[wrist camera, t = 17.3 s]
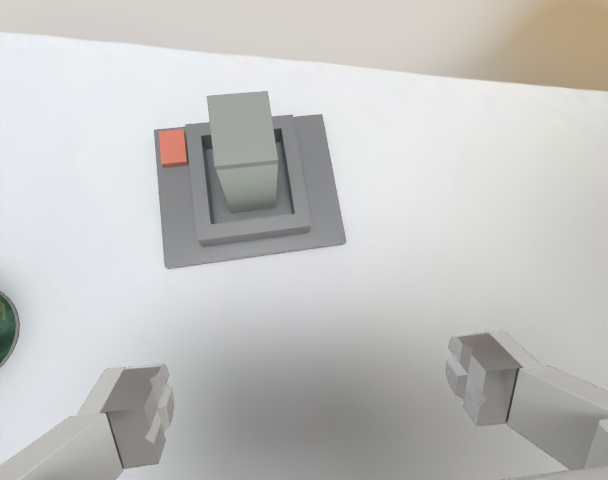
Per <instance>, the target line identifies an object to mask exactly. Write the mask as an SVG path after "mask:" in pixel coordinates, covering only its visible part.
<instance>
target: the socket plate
mask: <svg viewBox="0 0 608 480" xmlns="http://www.w3.org/2000/svg"><path fill="white" fill-rule="evenodd" d="M272 123H273V130H274V136H275V143H276V149H277V156H278V172H277V191H276V208H273V209H265V210H257V211H248V212H240V213H232V214H231V211H230V208H229V205H228V203H227V200H226V197H225V194H224V191H223V188H222V186H221V183H220V180H219V177H218V174H217V172H216V169H215V165H214V156H213V147H212V138H211V129H210V122H208V123H197V124H186V127H179V128H168V129H157V130H154V136H155V149H156V162H157V174H158V187H159V199H160V212H161V225H162V237H163V250H164V263H165V267H166V268H168V269H170V268H177V267H184V266H191V265H198V264H206V263H213V262H220V261H227V260H234V259H241V258H248V257H255V256H263V255H270V254H277V253H284V252H291V251H298V250H305V249H312V248H320V247H327V246H334V245H341V244H345V243H346V238H345V232H344V227H343V222H342V217H341V211H340V206H339V201H338V196H337V190H336V185H335V180H334V174H333V169H332V164H331V159H330V153H329V148H328V143H327V138H326V132H325V127H324V122H323V116H322V114H320V115H309V116H298V117H293V115H285V116H274V117H272Z"/></svg>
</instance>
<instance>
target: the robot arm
mask: <svg viewBox="0 0 608 480" xmlns="http://www.w3.org/2000/svg"><path fill="white" fill-rule="evenodd" d="M448 348H449V350H450V351H451V352H452V355H451V356H450V357H449V359H448V360H447V363H446V374H447V379H448V382H449V384H450V387H451V388H452V390H453V392H454V393H455V394H456V395H457V396H459V397H461V398H462V399H464V405H463V407H464V408H465V410H466V411H467V413H468V414H469V416H470V417H471V419H472V420H473V422H474V423H475V425H476V426H483V425H494V424H506V423H507V425H508V426H509V427H511V428H512V429H513V430H515V431H516V432H518V433H519V434H520V435H522V436H523V437H525V438H526V439H527V440H529V441H530V442H532V443H533V444H535V445H536V446H537V447H539V448H540V449H542V450H543V451H544V452H546V453H547V454H549V455H550V456H551V457H553V458H554V459H556V460H557V461H558V462H560V463H561V464H563V465H564V466H566V467H567V468H568V469H570V471H562V472H555V473H547V474H539V475H532V476H524V477H517V478H509V479H502V480H608V391H607V390H604V389H602V388H600V387H597V386H595V385H593V384H590V383H588V382H585V381H583V380H581V379H578V378H576V377H574V376H571V375H569V374H566V373H564V372H562V371H559V370H557V369H555V368H552V367H550V366H542V365H541V364H540V363H539V362H538V361H537V360H536V359H534V358H533V357H532V356H531V355H530V354H529V353H528V352H527V351H526V350H525V349H524V348H523V347H521V346H520V345H519V344H518V343H517V342H516V341H515V340H514V339H513V338H512V337H511V336H510V335H508V334H507V333H506V332H504V331H493V332H485V333H480V334H471V335H461V336H452V337H451V339H450V341H449V347H448ZM168 378H169V373H168V369H167V366H166V365H165V364H156V365H143V366H129V367H119V368H108V369H107V370H105V371H104V372H103V373H102V375H101V376H100V378H99V380H98V381H97V383H96V384H95V386H94V388H93V389H92V391H91V393H90V394H89V396H88V397H87V399H86V401H85V402H84V404H83V405H82V407H81V409H80V410H79V412H78V414H77V415H76V416H70V417H68V418H67V419H66V420H64V421H63V422H61V423H60V424H58V425H57V426H56V427H54V428H53V429H51V430H50V431H49V432H47V433H46V434H44V435H43V436H41V437H40V438H39V439H37V440H36V441H34V442H33V443H32V444H30V445H29V446H27V447H26V448H24V449H23V450H22V451H20V452H19V453H17V454H16V455H15V456H13V457H12V458H10V459H9V460H7V461H6V462H5V463H3V464H2V465H0V480H116V479H117V478H118V476H119V475H120V474H121V473H122V472H123V469H127V468H133V467H140V466H147V465H154V464H159V461H160V457H161V454H162V451H163V447H164V444H165V441H166V439H165V435H164V431H165V430H166V429H167V428H168V427H169V426H170V424H171V421H172V417H173V409H174V398H173V392H172V388H170V387H169V386H168V385H167V381H168Z"/></svg>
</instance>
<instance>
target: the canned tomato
mask: <svg viewBox="0 0 608 480" xmlns="http://www.w3.org/2000/svg"><path fill="white" fill-rule="evenodd" d="M18 334H19V319H18V314H17V311H16V309H15V306H14V305H13V304H12V302H11V301H10V299H9V298H7V297H6V296H5V295H4V294H3V293H1V292H0V367H1V366H2V365H3V364H4V363H5V362H6V360H7V359H8V357H9V356H10V355H11V353H12V351H13V349H14V347H15V345H16V342H17V338H18Z"/></svg>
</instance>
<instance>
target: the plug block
mask: <svg viewBox="0 0 608 480" xmlns="http://www.w3.org/2000/svg"><path fill="white" fill-rule="evenodd" d="M207 102H208V111H209V120H210V129H211V138H212V147H213V156H214V165H215V169H216V172H217V174H218V177H219V180H220V183H221V186H222V188H223V191H224V194H225V197H226V200H227V203H228V205H229V208H230V211H231V214H232V213H240V212H248V211H257V210H265V209H273V208H276V191H277V172H278V156H277V149H276V143H275V136H274V130H273V123H272V116H271V110H270V103H269V97H268V91H262V92H250V93H237V94H225V95H212V96H207Z"/></svg>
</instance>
